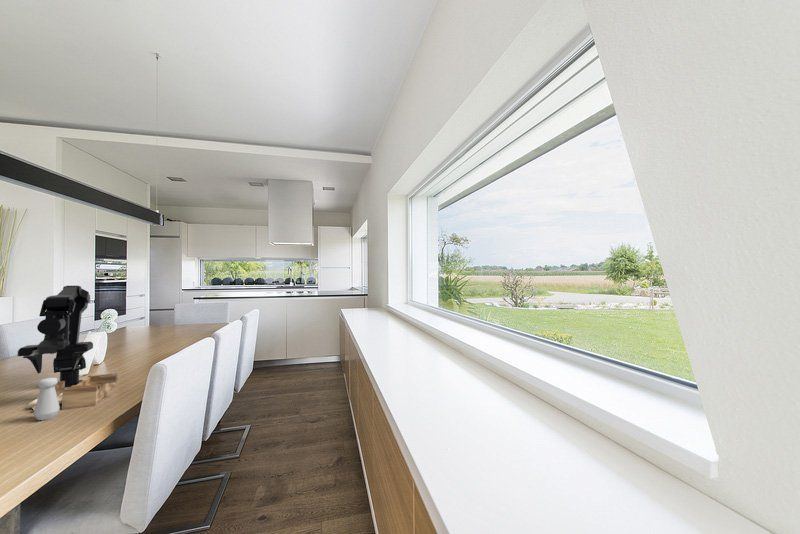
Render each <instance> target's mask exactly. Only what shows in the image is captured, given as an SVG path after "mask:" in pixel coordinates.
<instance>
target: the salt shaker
mask: <svg viewBox="0 0 800 534" xmlns="http://www.w3.org/2000/svg"><path fill="white" fill-rule="evenodd" d="M57 382H58V378H57V377H46V378H42V379H40V380H39V381H38V383H37V386H38V388H40V390H39V393H38V397H37V398H38V400H37V403H36V407H35V410H33V416H34V418H35V419H36V420H37V421H40V420H41V422H42V420H43V421H48V420H51V419H53V418H56V417H57V415H58V413H59V411H60V409H61V407H60V404H59V402H58V398H57V394H56V390H55V385H56V384H57Z"/></svg>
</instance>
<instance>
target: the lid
mask: <svg viewBox="0 0 800 534" xmlns="http://www.w3.org/2000/svg"><path fill="white" fill-rule="evenodd" d="M64 389H66V387H65V381H60V380H59V381H58V382H57V384H56V385H55V390H56V394H57V398H58V402H59V405H60V404H61V405H62V392H63V390H64ZM37 400H38V397H36V399H34V400H32V401H31V402H30V403H28V404H27V405H26V409H30V408H31V410H32V409H33V410H32V411H34V410H35V407H36V403H37Z"/></svg>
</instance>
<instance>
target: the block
mask: <svg viewBox="0 0 800 534" xmlns="http://www.w3.org/2000/svg"><path fill="white" fill-rule="evenodd" d="M118 379H119V374H118V373H117V374H116V375H106V376H100V377H99V380H98V384H106V383H116V382H118Z"/></svg>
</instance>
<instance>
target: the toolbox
mask: <svg viewBox="0 0 800 534" xmlns="http://www.w3.org/2000/svg"><path fill="white" fill-rule="evenodd" d="M116 374H118V372H117V373H116V372H115V373H105V374H98V375H97V374H95V375H88V376H87V377H85V378H84V379H82V380H83V381H81V382H80V383H79V384H77V385H72V386H69V387H66V388H65V389H64V390H63V392H62V403H61V411H63V410H69V409H78V408H87V407H93V406H97V405H98V404H99V403H100V402H101V401H102V400H103V399H104V398H105V397H106V396H107V395H108V394H109V393H110V392H111V391H112V390H113V389H114V388H115V387H116V386H118V385H117V382H118V381H117V382H116V383H106V384H98V380H99V377H100V376H106V375H116ZM112 388H113V389H112ZM111 389H112V390H111ZM110 390H111V391H110ZM109 391H110V392H109ZM108 392H109V393H108ZM107 393H108V394H107ZM106 394H107V395H106ZM105 395H106V396H105ZM104 396H105V397H104ZM103 397H104V398H103ZM102 398H103V399H102ZM101 399H102V400H101ZM100 400H101V401H100Z"/></svg>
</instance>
